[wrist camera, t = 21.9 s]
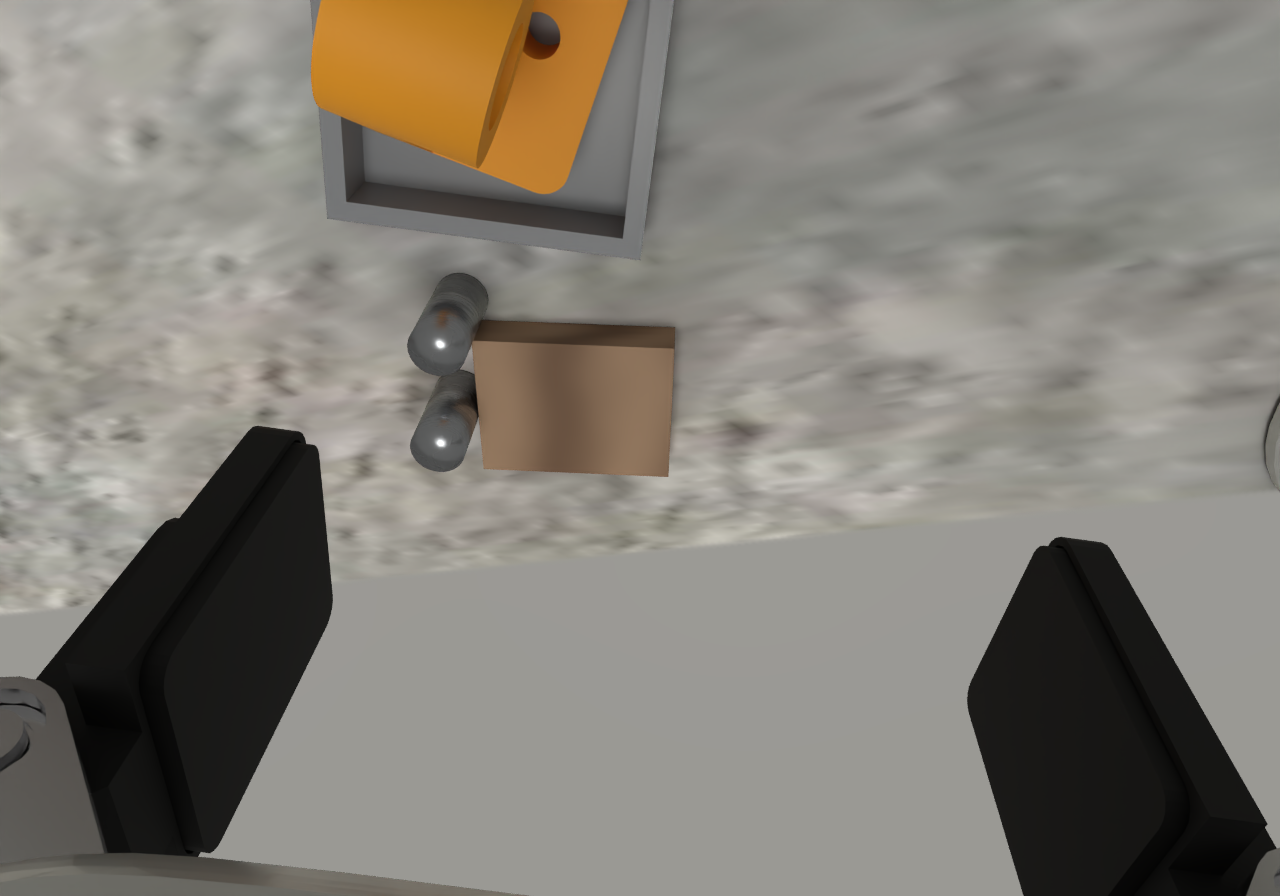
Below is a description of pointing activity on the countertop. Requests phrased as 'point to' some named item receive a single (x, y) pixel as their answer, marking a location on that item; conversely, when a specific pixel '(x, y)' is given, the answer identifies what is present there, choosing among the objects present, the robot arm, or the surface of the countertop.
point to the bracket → (468, 78)
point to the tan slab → (574, 397)
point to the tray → (498, 210)
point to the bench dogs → (447, 371)
